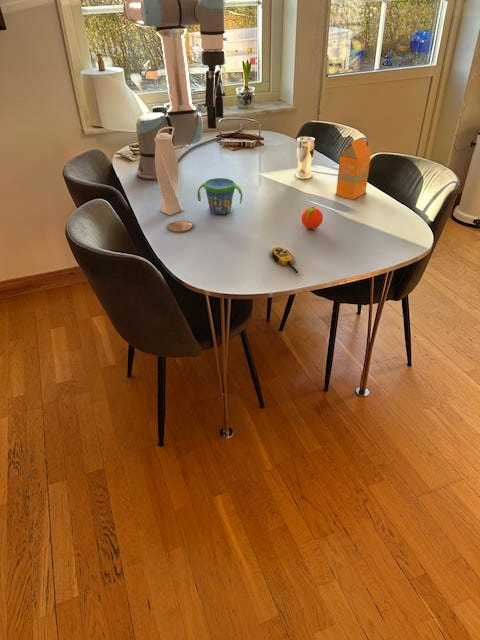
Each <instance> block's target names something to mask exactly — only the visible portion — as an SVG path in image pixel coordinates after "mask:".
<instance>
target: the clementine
mask: <svg viewBox="0 0 480 640" xmlns="http://www.w3.org/2000/svg"><path fill="white" fill-rule="evenodd" d="M300 218H301V219H300V220H301V223H302V225H303V226H304V227H305V228H307V229H311V230H314V229H317V228H319V227H320V226H321V225H322V223H323V221H324V215H323V212H322V211H321V209H319V208H318V207H316V206H309V207H307V208H306V209H304V210H303V211H302V214H301V217H300Z"/></svg>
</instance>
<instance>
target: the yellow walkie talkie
mask: <svg viewBox="0 0 480 640" xmlns="http://www.w3.org/2000/svg"><path fill="white" fill-rule="evenodd" d="M271 255H272V258H273V259H274V260H275V262H277V263H279V264H280V265H282V266H289V267H290V268H291V269H292V270H293V272H295V273H296V274H298V273H299V271H298V270H297V269H296V268H295V267H294V266H293V262H294V261H293V260H294V259H293V255H292V253H291V252H290V251H288V250H287V249H286V248H283V247H281V246H275V247H272V248H271Z"/></svg>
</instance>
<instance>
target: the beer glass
mask: <svg viewBox="0 0 480 640" xmlns="http://www.w3.org/2000/svg"><path fill="white" fill-rule="evenodd" d="M295 153H296V163H297V170H296V174H295V177H296V178H298V179H299V180H301V179H302V180H307V179H310V178H312V173H311V168H312V163H313V159H314V154H315V138H314V137H312V136H299V137H298V138H297V142H296V152H295Z"/></svg>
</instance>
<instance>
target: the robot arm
mask: <svg viewBox="0 0 480 640" xmlns="http://www.w3.org/2000/svg"><path fill="white" fill-rule="evenodd" d="M225 6H226V2H225V0H124V1H123V6H122V7H123V13H124V16H125V18H126V20H127V21H128V22H129V23H130V24H132V25H134V26H136V27H141V28H155V31H156V34H157V35H158V36H159V37H160V39H161V46H162V47H161V48H162V53H163V61H164V67H165V68H164V69H165V76H166V82H167V90H168V98H169V104H170V105H169V106H170V107H169V108H168V110H167V115H165V113H162V112H151V113H146V114H143V115H141V116H139V117H138V118H137V119H136V121H135V132H136V136H137V144H138V145H137V146H138V151H139V160H138V166H137V171H136V172H137V176H138V177H139V178H140V179H142V180H143V179H144V180H149V181H150V180H151V181H152V180H153V181H158V180H157V175H156V168H155V146H156V143H155V140H154V138H155V137H156V136H157V133H158V131H159V130H160V129H161V128H164V127H173V128H174V132H173V137H172V144H173V147H181V146H191V145H193V146H191V147H189V148H188V149H186V150H185V151H184V152H183V153H182V154H181V155H180V156H179V157H177V161H178V162H179V161H181V159H182V158H183V157H184V156H185V155H186V154H187V153H188V152H189V151H191V150H193V149H195V148H197V147H200V146H202V145H204V144H205V145H206V144H208V143H210V142H211V143H212V142H213V141H217V140H220V139H223V138H226V137H228V136H225V137H221V136H218V137H219V138H218V137H215V138H212V139H209V140H205V141H203V142H200V141H201V140H202V137H203V132H204V131H203V130H204V123H203V122H204V121H203V119H202V115H201V113H199V112H197V108H196V107H195V106H194V105H193V103H192V94H191V88H190V86H191V85H190V78H189V70H188V62H187V54H186V53H187V52H186V45H185V37H184V36H185V35H186V33H187V31H188V28H187V27H188V26H198V25H199V36H200V37H199V40H200V49H201V52H200V56H201V64H202V65H203V66H207V67H208V68H207V69H208V70H206V71H205V103H204V104H203V107H204V108H206V116H207V117H206V118H207V129H217V127H218V126H217V119H223V118H224V97H226V92H225V89H224V80H223V72H222V71H223V70H222V66H224V65H226V63H227V57H226V56H227V54H226V50H224V49H226V42H227V41H228V38H227V37H226V14H225V13H226V11H225V10H226V9H225V8H226V7H225ZM239 126H240V128H239V129H238V130H235V131H234V132H237V133H239V132H241V131H243V125H242V123H240V124H239ZM172 130H173V129H172V128H167V129H163V130H161V131H160V132H159V134H160V133H168V135H171V134H172ZM159 134H158V135H159Z"/></svg>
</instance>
